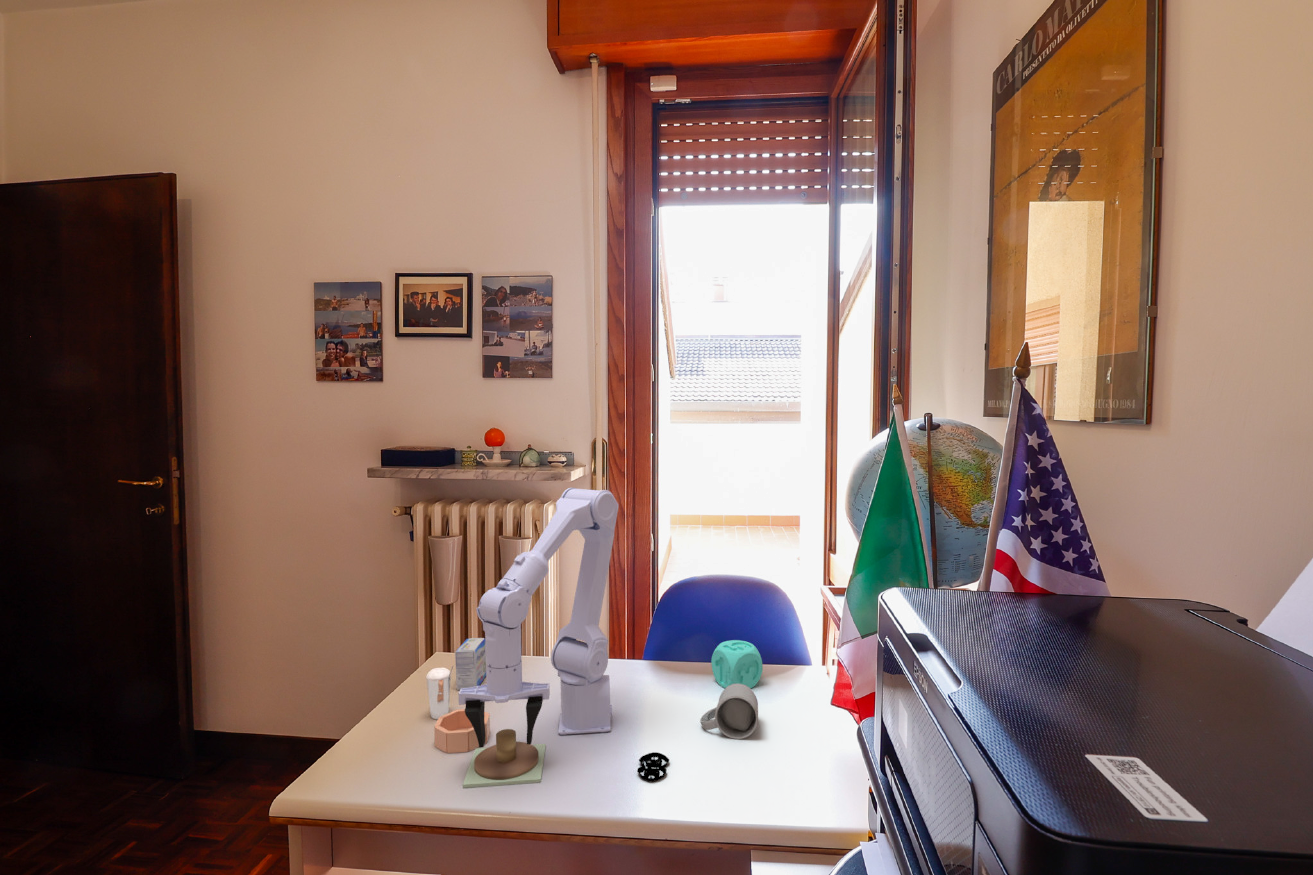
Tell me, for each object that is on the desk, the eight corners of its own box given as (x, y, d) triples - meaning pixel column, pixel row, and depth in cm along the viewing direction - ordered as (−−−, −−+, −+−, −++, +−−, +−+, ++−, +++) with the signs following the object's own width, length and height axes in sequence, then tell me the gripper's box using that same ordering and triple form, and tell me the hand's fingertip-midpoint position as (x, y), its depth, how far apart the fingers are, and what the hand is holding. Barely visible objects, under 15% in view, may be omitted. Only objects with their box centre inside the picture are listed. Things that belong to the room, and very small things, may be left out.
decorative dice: (711, 680, 139) (710, 644, 139) (741, 672, 143) (740, 637, 143) (732, 694, 132) (731, 656, 132) (763, 686, 136) (763, 648, 136)
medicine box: (476, 690, 136) (475, 650, 136) (455, 691, 136) (454, 650, 136) (487, 675, 144) (486, 637, 144) (467, 675, 144) (466, 637, 144)
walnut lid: (538, 742, 113) (537, 716, 113) (538, 775, 103) (537, 745, 102) (477, 750, 111) (476, 722, 111) (471, 783, 101) (470, 753, 100)
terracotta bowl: (492, 725, 120) (491, 707, 120) (484, 750, 111) (483, 730, 111) (443, 728, 120) (442, 710, 119) (431, 754, 111) (430, 734, 110)
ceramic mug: (758, 719, 121) (757, 678, 121) (758, 740, 113) (757, 697, 113) (702, 716, 123) (701, 677, 123) (698, 738, 115) (697, 695, 115)
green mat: (545, 746, 112) (545, 743, 112) (540, 782, 102) (540, 779, 102) (475, 751, 111) (475, 748, 111) (462, 787, 100) (462, 784, 100)
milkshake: (448, 722, 122) (446, 670, 122) (422, 720, 123) (421, 668, 123) (460, 711, 127) (458, 661, 126) (435, 709, 128) (434, 659, 127)
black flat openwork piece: (634, 784, 101) (634, 777, 101) (641, 756, 109) (640, 750, 109) (666, 785, 101) (666, 778, 101) (670, 757, 109) (670, 751, 109)
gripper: (453, 674, 101) (456, 758, 102) (546, 668, 103) (548, 752, 103) (462, 657, 108) (464, 736, 109) (549, 652, 110) (551, 730, 110)
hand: (506, 742), depth 106 cm, fingers open, 7 cm apart
